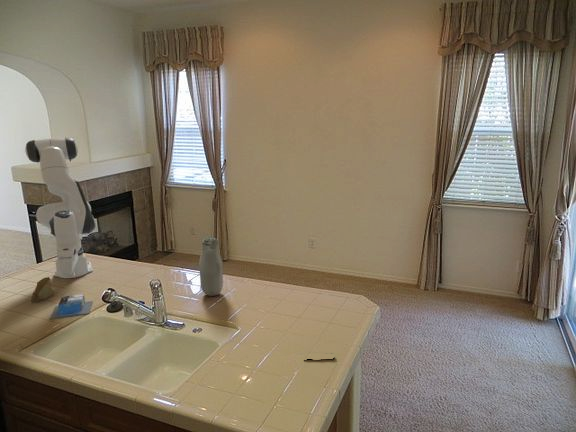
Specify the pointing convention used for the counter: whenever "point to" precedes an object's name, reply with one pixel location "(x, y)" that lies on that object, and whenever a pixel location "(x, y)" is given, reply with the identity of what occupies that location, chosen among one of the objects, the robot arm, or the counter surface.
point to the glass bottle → (211, 267)
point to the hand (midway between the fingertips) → (72, 276)
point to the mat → (84, 310)
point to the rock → (42, 290)
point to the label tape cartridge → (71, 305)
